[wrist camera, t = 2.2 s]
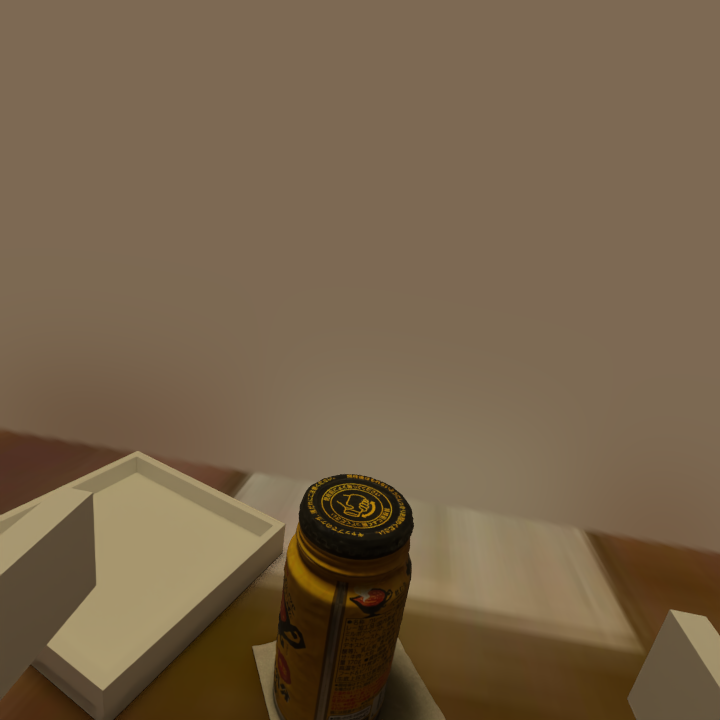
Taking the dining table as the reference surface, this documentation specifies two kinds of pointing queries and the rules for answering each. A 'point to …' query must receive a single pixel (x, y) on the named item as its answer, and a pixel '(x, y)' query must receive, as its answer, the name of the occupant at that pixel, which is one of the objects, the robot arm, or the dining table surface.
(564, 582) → the dining table surface
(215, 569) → the tray
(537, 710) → the dining table surface
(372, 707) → the condiment
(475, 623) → the dining table surface
